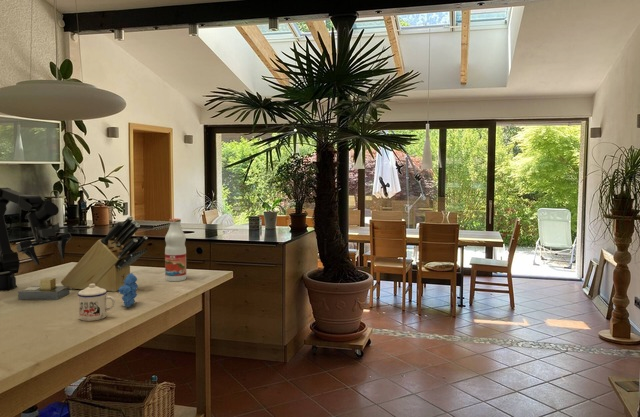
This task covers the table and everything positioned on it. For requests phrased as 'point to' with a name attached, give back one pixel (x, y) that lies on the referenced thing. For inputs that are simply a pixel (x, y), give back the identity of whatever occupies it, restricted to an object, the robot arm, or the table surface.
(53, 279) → the wooden square beam
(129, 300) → the grapes
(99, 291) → the teacup with lid
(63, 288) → the rail plate
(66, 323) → the table surface
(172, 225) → the fruit juice
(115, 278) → the knife block
